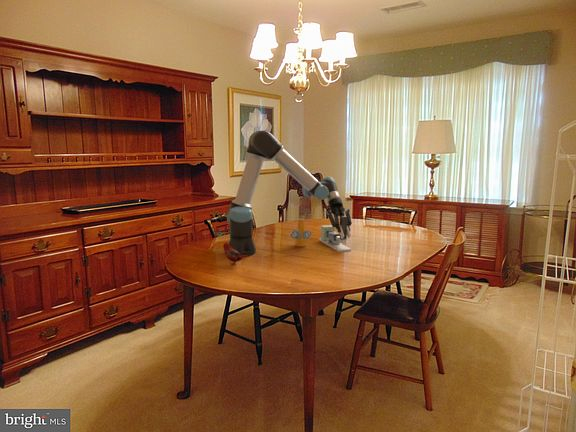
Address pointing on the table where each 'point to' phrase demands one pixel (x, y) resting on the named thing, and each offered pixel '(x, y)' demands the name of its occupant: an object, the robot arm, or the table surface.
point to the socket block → (326, 231)
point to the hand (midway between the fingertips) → (346, 236)
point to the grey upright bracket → (344, 227)
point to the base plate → (336, 246)
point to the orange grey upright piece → (301, 233)
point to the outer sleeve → (331, 238)
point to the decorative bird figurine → (232, 254)
